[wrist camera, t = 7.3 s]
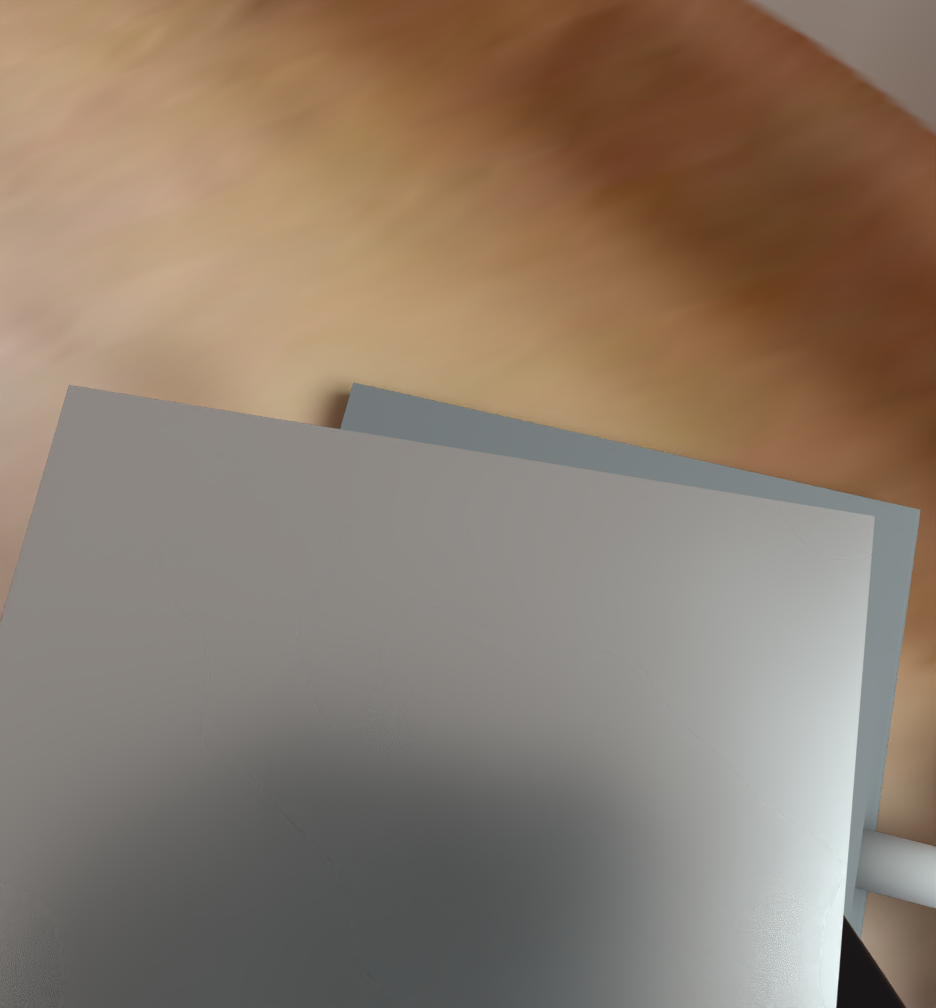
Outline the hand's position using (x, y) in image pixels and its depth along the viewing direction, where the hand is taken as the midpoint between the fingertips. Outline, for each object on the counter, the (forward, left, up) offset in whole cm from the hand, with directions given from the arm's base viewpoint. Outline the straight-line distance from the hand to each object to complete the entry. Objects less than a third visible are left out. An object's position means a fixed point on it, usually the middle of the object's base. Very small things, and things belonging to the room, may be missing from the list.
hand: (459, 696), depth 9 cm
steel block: (-1, -1, -7) cm, 7 cm away
